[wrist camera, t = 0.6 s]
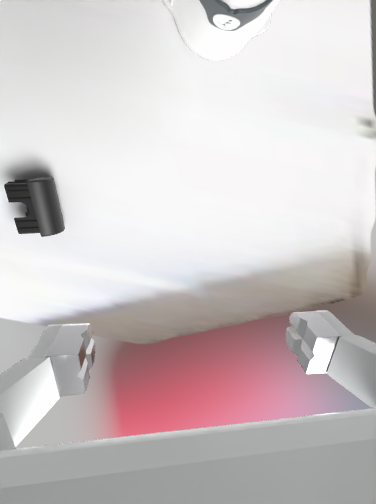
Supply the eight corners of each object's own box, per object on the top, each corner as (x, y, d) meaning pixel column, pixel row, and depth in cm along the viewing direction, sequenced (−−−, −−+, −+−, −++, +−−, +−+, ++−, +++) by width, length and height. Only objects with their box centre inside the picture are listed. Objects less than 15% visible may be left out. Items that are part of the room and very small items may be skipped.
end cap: (70, 225, 52) (58, 236, 46) (34, 227, 51) (17, 238, 45) (59, 175, 48) (45, 180, 42) (20, 177, 47) (0, 181, 41)
